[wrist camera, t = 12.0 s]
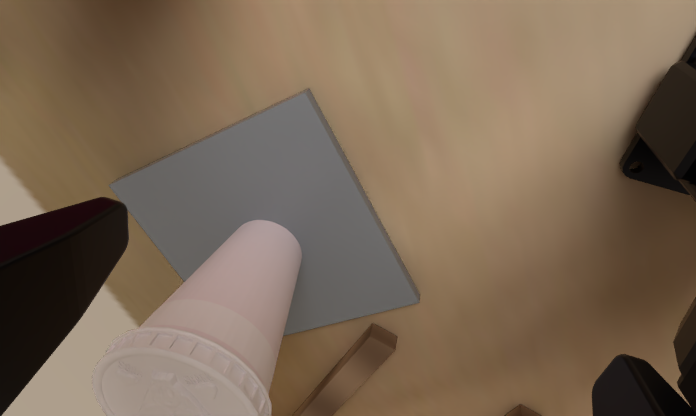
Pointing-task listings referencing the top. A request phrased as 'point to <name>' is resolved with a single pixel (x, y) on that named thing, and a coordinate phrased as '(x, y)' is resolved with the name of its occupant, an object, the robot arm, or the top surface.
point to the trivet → (275, 210)
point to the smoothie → (209, 335)
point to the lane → (359, 375)
